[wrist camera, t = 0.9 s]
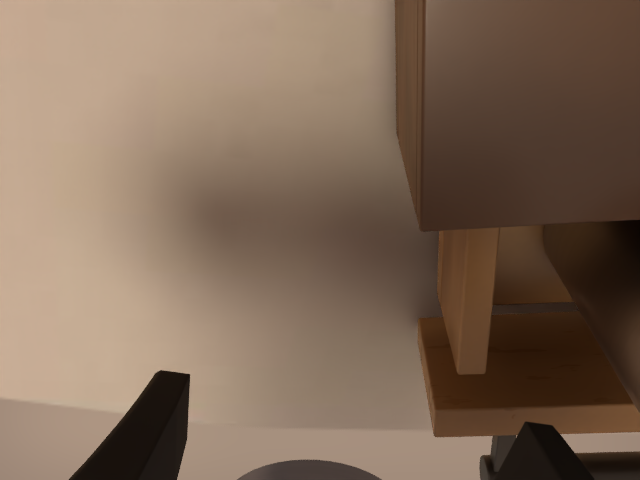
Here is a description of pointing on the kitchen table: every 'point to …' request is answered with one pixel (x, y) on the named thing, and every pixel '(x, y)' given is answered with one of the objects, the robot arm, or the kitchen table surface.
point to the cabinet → (519, 111)
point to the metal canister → (604, 287)
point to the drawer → (516, 353)
